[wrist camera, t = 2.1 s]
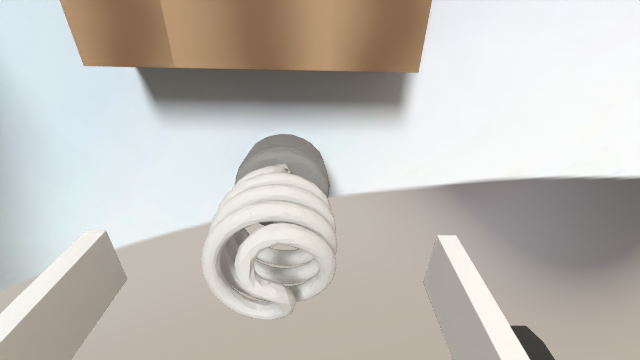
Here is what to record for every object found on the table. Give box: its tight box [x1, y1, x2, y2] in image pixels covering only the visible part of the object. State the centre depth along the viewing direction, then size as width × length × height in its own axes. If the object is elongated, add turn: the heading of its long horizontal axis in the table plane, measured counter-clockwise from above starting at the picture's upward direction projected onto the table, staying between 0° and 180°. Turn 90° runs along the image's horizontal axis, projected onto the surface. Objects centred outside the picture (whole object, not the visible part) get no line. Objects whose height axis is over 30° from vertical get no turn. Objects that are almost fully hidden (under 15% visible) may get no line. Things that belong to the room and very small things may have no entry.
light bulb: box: [202, 134, 337, 320], centre depth 16 cm, size 6×6×12 cm
